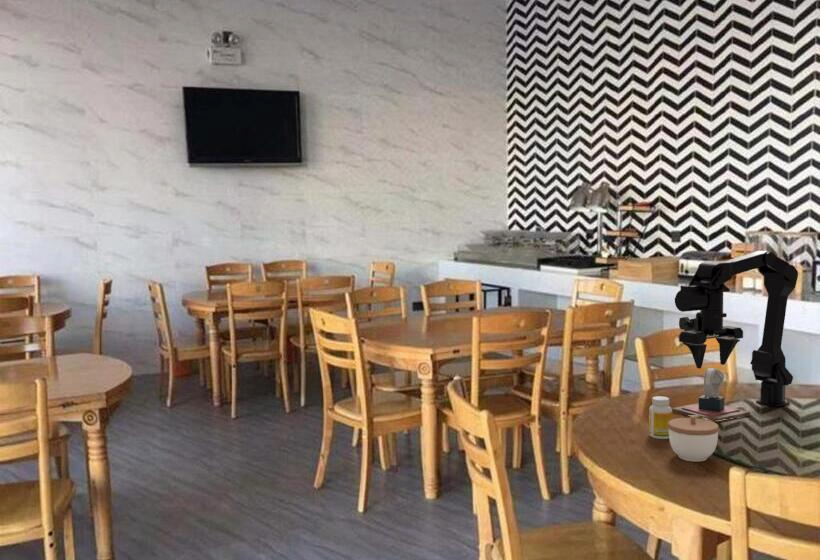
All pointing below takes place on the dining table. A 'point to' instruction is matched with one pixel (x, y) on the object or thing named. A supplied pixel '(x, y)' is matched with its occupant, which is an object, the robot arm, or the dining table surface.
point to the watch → (712, 391)
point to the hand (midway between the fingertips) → (710, 366)
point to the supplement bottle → (659, 417)
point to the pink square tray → (711, 412)
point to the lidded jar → (693, 438)
